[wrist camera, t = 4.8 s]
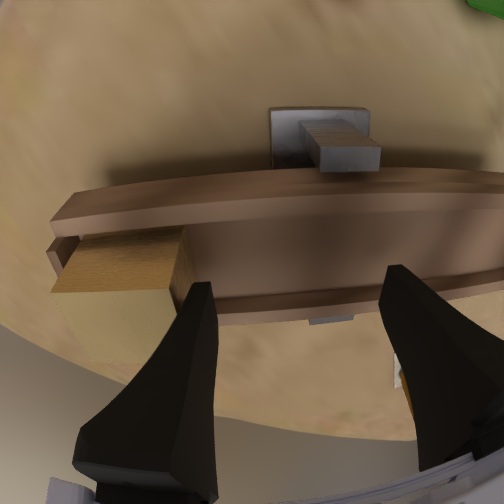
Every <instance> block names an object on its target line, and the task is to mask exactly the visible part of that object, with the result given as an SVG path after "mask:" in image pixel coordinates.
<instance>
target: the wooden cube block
mask: <svg viewBox="0 0 504 504" xmlns="http://www.w3.org/2000/svg"><path fill="white" fill-rule="evenodd" d="M194 282H198V277H197V273H196V268H195V263H194V259H193V254H192V249H191V244H190V239H189V234H188V229H187V224H184V225H173V226H162V227H152V228H141V229H131V230H121V231H112V232H102V233H93V234H85V235H84V236H83V238H82V240H81V241H80V243H79V244H78V246H77V247H76V249H75V251H74V252H73V254H72V256H71V257H70V259H69V260H68V262H67V264H66V265H65V267H64V269H63V271H62V272H61V274H60V276H59V277H58V279H57V281H56V283H55V284H54V286H53V288H52V290H51V292H50V295H51V296H52V298H53V300H54V302H55V303H56V305H57V307H58V309H59V310H60V312H61V314H62V315H63V317H64V319H65V320H66V322H67V324H68V325H69V327H70V329H71V330H72V332H73V333H74V335H75V337H76V338H77V340H78V341H79V343H80V344H81V346H82V347H83V349H84V350H85V352H86V353H87V355H88V356H89V358H90V359H91V361H92V362H102V363H122V364H145V363H146V362H147V361H148V359H149V358H150V357H151V355H152V354H153V352H154V351H155V350H156V348H157V347H158V345H159V344H160V342H161V340H162V339H163V337H164V336H165V334H166V333H167V331H168V329H169V328H170V326H171V324H172V322H173V321H174V319H175V317H176V315H177V313H178V312H179V310H180V308H181V306H182V304H183V302H184V300H185V298H186V296H187V294H188V291H189V289H190V287H191V285H192V284H193V283H194Z"/></svg>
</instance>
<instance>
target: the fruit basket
mask: <svg viewBox="0 0 504 504" xmlns="http://www.w3.org/2000/svg"><path fill="white" fill-rule="evenodd" d="M466 1H467V3H468V5H469V6H471V7H474V8H476V9H479V10H481V11H484V12H486V13H489V14H491V15H494V16H496V17H498V18H501V19H503V20H504V0H466Z"/></svg>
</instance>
